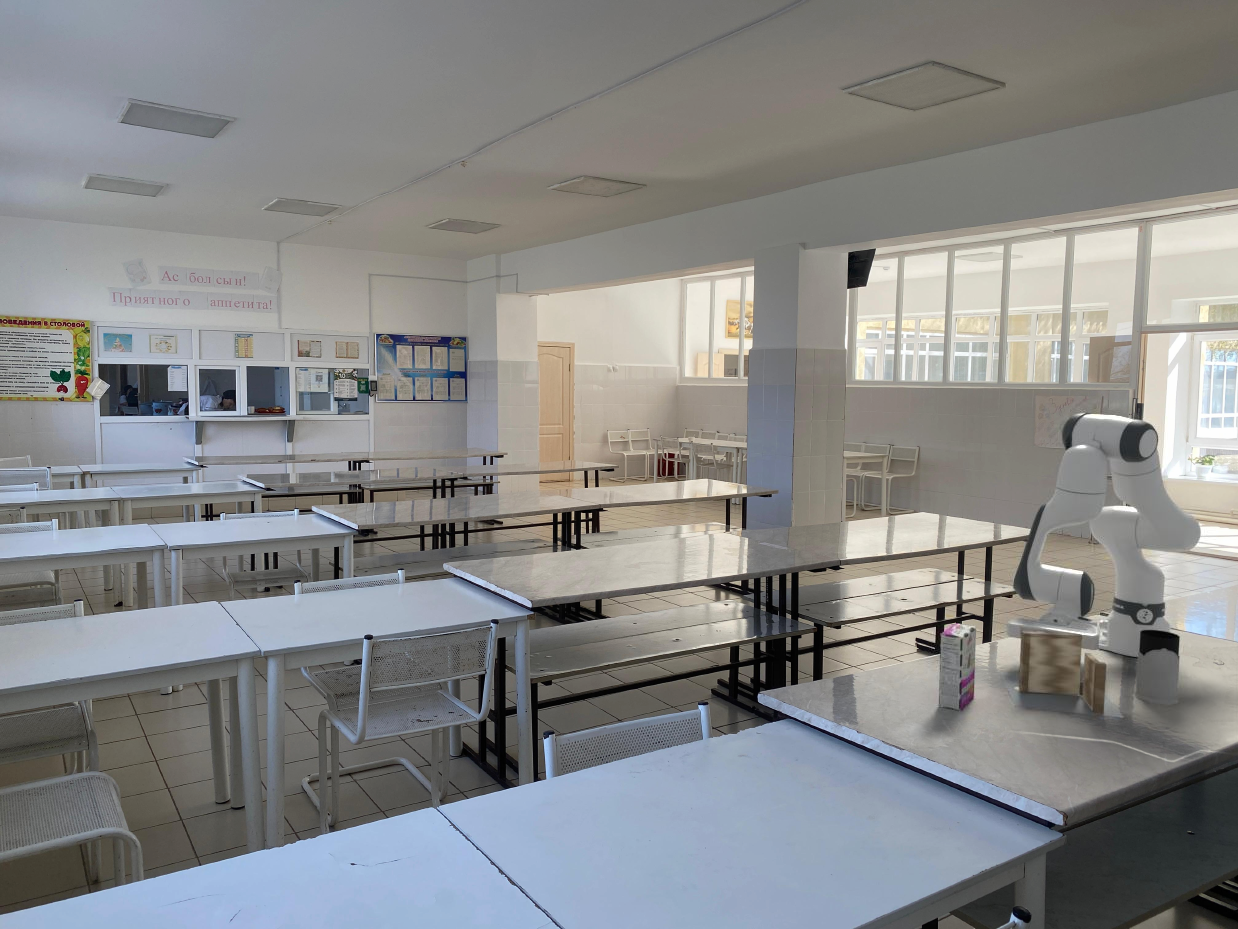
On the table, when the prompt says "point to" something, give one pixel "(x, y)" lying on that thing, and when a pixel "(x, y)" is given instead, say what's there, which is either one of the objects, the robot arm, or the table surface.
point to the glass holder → (1158, 667)
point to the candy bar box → (957, 666)
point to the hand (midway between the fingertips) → (1046, 641)
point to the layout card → (1054, 699)
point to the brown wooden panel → (1050, 662)
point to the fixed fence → (1094, 683)
